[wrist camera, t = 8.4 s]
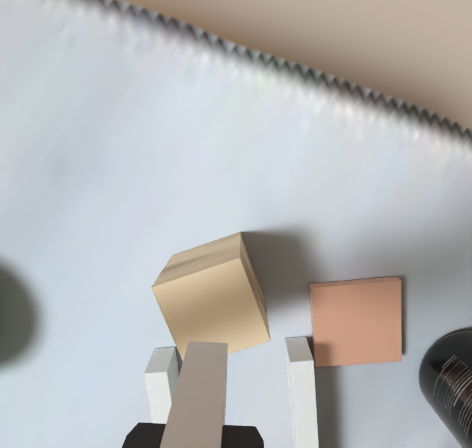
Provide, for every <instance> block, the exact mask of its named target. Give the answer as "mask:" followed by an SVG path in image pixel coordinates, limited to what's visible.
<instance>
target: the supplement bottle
mask: <svg viewBox="0 0 472 448" xmlns="http://www.w3.org/2000/svg"><path fill="white" fill-rule="evenodd" d="M419 383H420V388H421V390H422V393H423V395H424V397H425V398H426V400H427V401H428V403H429V404H430V405H431V407H432V408H433V410H434V411H435V412H436V414H437V415H438V416H439V418H440V419H441V420H442V421H443V423H444V424H445V425H446V427H447V428H448V429H449V431H450V432H451V433H452V435H453V436H454V437H455V439H456V440H457V441H458V443H459V444H460V445H461V447H462V448H472V330H467V331H459V332H455V333H452V334H449V335H447V336H445V337H443V338H442V339H440V340H439V341H437V342H436V343H435V344H434V345H433V346H432V347H431V348H430V349H429V350H428V351H427V353H426V354H425V356H424V358H423V360H422V362H421V365H420V369H419Z"/></svg>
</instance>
